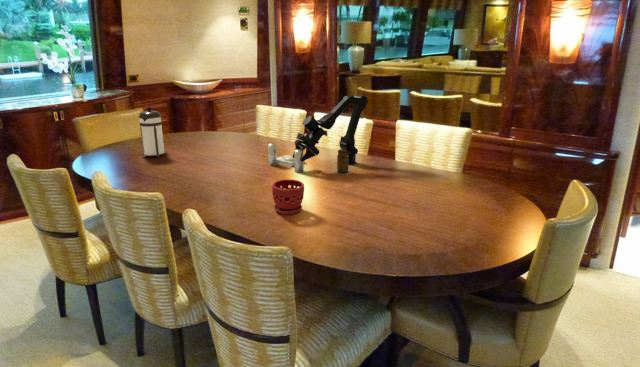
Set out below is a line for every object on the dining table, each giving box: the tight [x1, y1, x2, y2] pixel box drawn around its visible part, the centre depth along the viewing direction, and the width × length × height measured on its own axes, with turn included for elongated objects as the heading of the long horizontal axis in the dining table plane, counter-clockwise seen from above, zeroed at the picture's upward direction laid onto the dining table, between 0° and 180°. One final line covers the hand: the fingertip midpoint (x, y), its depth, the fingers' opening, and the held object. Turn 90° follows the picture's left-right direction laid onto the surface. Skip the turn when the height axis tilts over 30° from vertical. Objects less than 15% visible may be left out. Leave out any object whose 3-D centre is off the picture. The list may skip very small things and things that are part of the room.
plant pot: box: [271, 179, 305, 215], centre depth 193 cm, size 13×13×12 cm
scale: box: [277, 154, 306, 168], centre depth 268 cm, size 14×12×3 cm
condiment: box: [333, 148, 353, 175], centre depth 248 cm, size 7×8×12 cm
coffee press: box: [138, 106, 167, 159], centre depth 281 cm, size 17×16×30 cm
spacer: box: [267, 142, 278, 167], centre depth 263 cm, size 5×5×12 cm
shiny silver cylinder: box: [293, 148, 305, 174], centre depth 249 cm, size 5×5×12 cm
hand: (297, 159), depth 248 cm, fingers open, 9 cm apart
